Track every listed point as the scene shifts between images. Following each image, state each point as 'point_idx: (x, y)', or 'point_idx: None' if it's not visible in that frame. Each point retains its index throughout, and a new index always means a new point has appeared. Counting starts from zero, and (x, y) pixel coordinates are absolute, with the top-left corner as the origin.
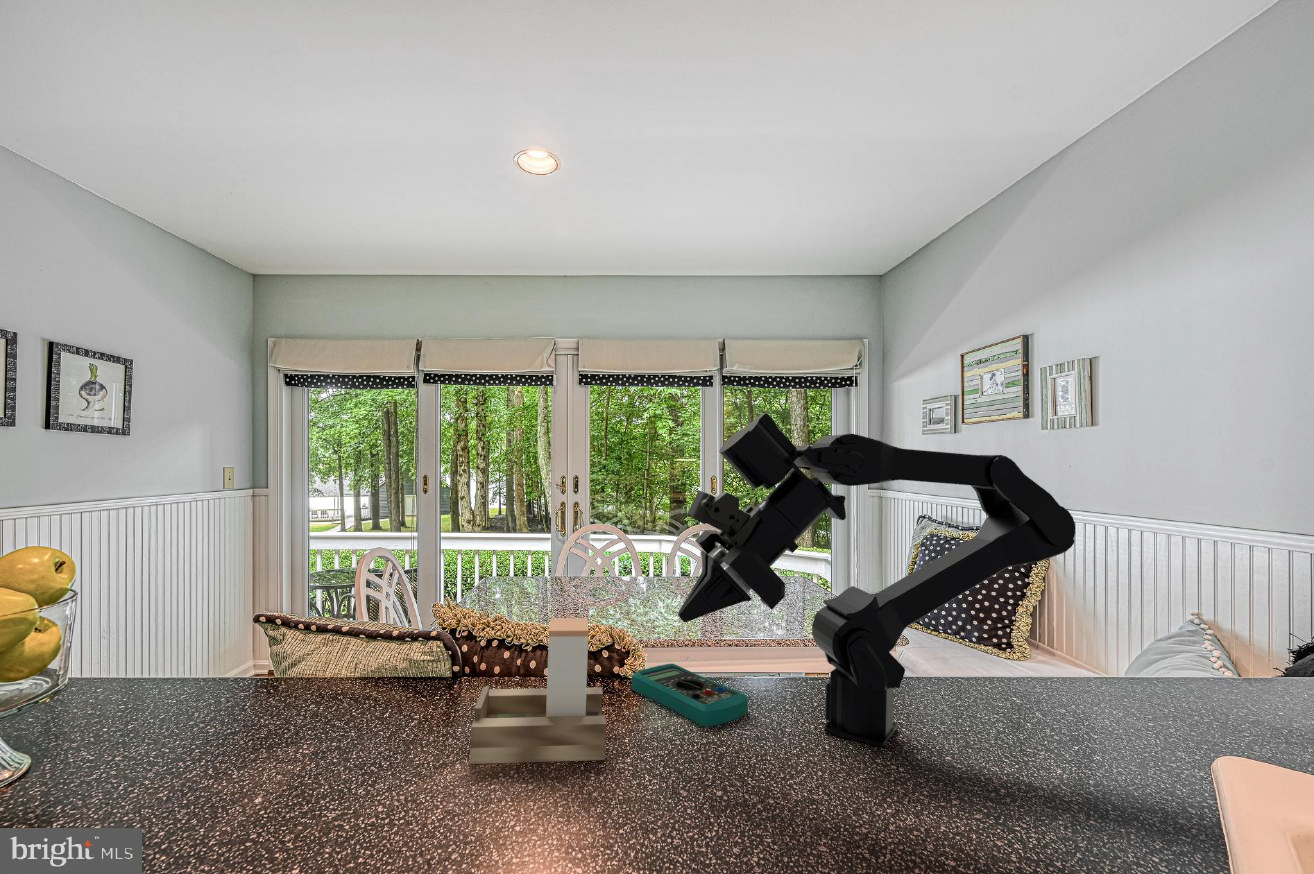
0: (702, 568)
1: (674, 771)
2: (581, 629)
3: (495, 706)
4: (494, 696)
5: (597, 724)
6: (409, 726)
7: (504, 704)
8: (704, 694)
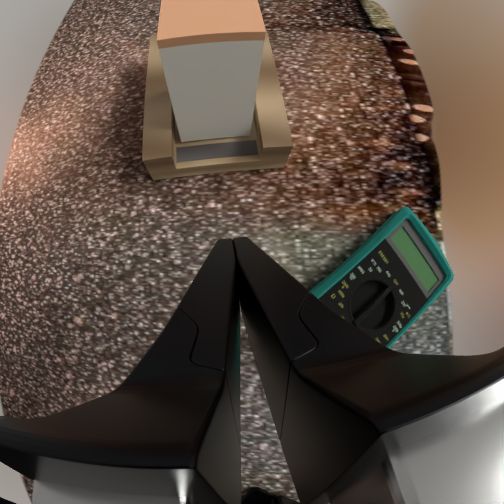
0: (401, 355)
1: (123, 270)
2: (166, 30)
3: None
4: None
5: (143, 149)
6: None
7: None
8: None
